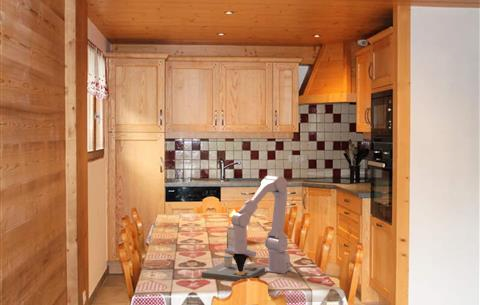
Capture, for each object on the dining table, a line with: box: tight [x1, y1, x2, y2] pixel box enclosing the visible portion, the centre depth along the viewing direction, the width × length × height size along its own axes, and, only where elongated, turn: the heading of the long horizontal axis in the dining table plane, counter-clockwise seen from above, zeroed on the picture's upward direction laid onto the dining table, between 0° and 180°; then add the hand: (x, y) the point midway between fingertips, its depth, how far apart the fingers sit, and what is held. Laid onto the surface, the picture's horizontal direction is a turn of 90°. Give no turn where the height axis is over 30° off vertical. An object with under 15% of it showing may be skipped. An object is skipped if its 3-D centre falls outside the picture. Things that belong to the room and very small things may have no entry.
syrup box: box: [226, 225, 234, 249], centre depth 296 cm, size 6×6×14 cm
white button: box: [245, 261, 256, 270], centre depth 255 cm, size 4×4×3 cm
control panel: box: [201, 262, 266, 282], centre depth 253 cm, size 22×20×2 cm
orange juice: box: [228, 205, 249, 241], centre depth 331 cm, size 8×9×20 cm
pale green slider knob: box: [223, 255, 233, 267], centre depth 259 cm, size 3×2×5 cm, turn 63°
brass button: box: [236, 270, 245, 276], centre depth 246 cm, size 4×4×3 cm
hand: (240, 270), depth 246 cm, fingers closed, pressing on brass button
